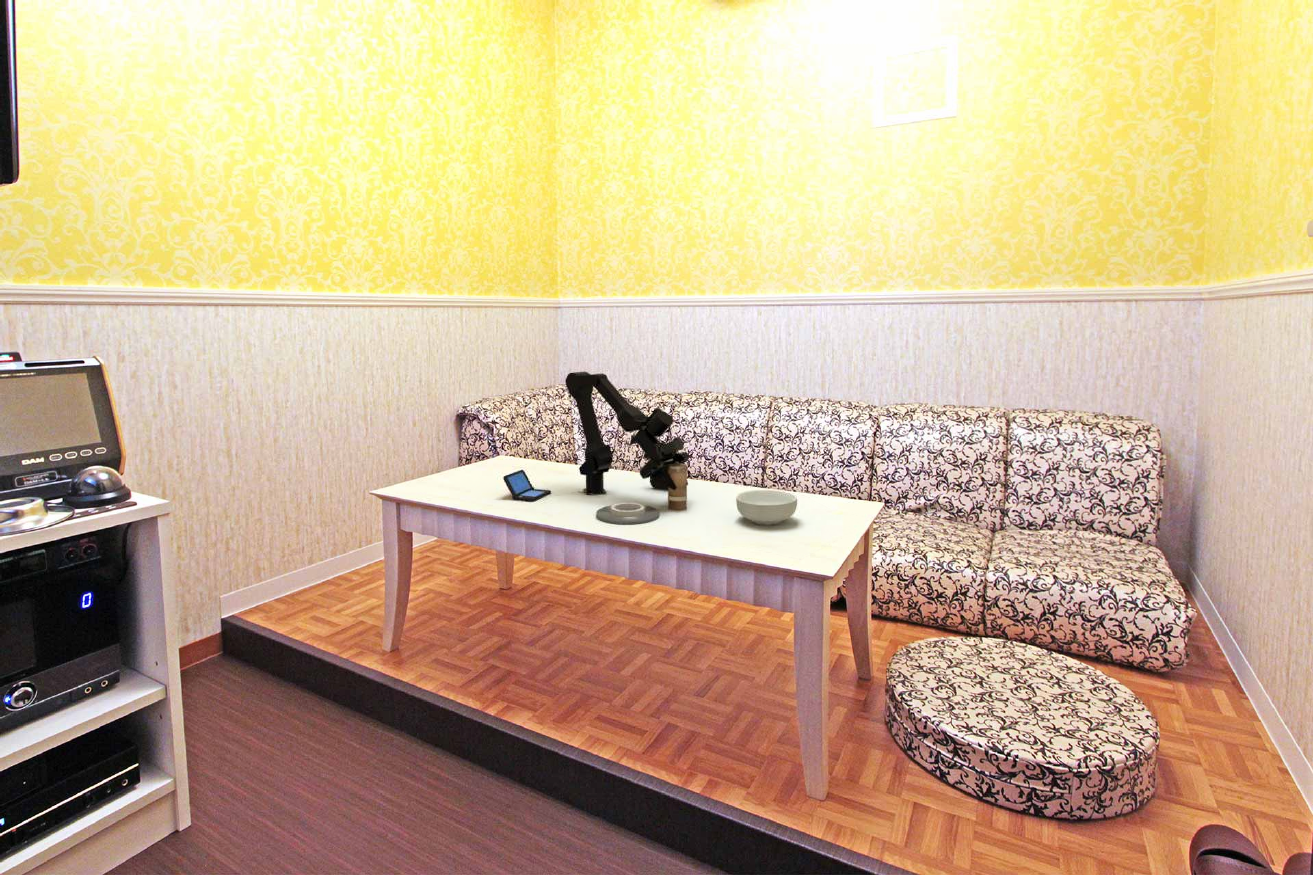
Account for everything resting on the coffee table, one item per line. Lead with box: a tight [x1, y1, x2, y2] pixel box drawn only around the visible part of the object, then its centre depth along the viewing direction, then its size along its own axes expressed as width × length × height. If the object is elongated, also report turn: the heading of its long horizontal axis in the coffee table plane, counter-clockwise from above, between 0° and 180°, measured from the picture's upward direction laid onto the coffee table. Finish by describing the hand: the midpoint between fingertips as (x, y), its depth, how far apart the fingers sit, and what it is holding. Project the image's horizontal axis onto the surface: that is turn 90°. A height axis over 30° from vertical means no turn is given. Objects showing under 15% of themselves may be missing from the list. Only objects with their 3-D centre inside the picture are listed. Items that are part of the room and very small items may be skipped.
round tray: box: [595, 502, 660, 526], centre depth 206 cm, size 18×18×2 cm
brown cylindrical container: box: [667, 463, 688, 512], centre depth 214 cm, size 6×6×13 cm
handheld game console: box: [502, 469, 552, 503], centre depth 228 cm, size 12×11×7 cm
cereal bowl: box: [735, 489, 798, 526], centre depth 201 cm, size 17×17×7 cm
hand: (681, 487), depth 213 cm, fingers open, 6 cm apart
